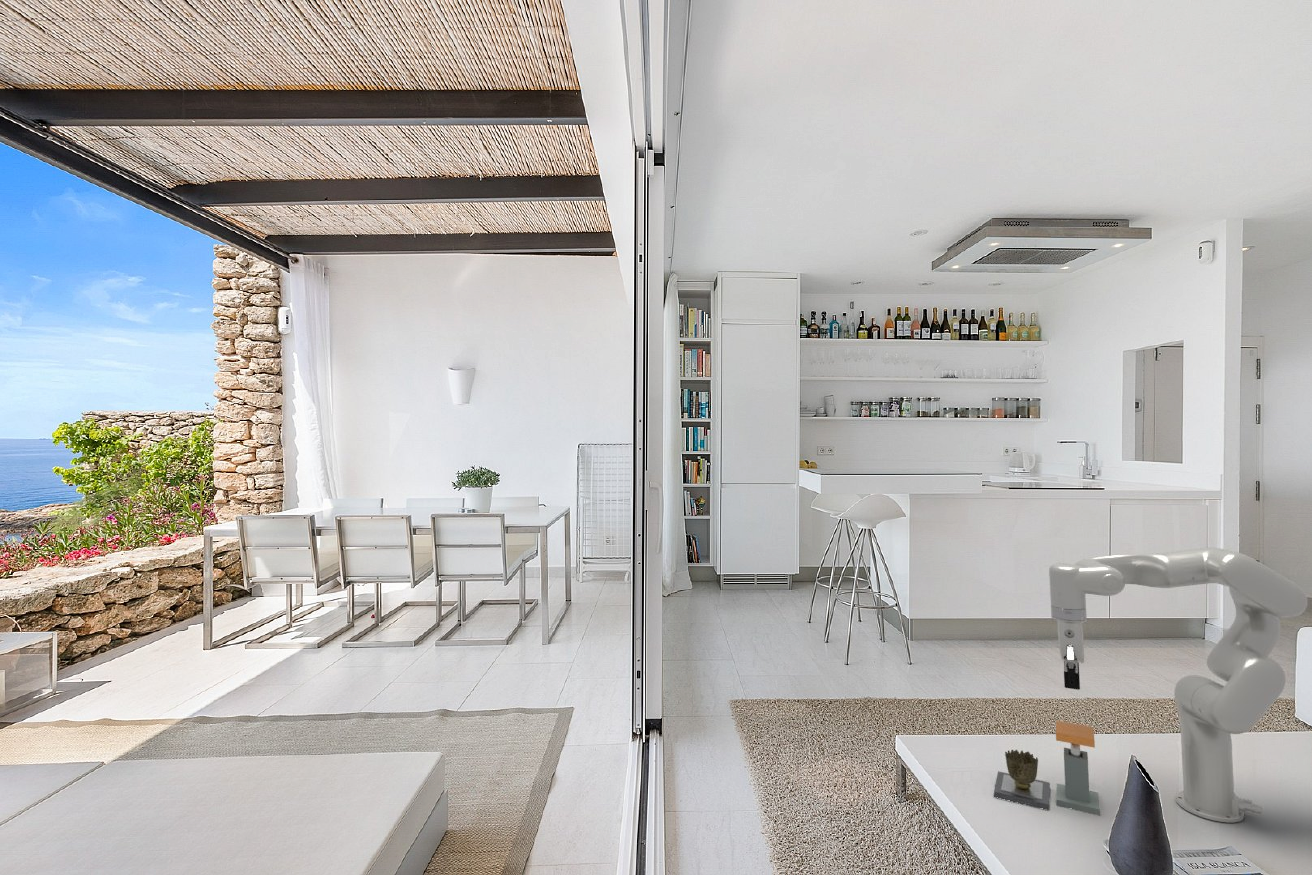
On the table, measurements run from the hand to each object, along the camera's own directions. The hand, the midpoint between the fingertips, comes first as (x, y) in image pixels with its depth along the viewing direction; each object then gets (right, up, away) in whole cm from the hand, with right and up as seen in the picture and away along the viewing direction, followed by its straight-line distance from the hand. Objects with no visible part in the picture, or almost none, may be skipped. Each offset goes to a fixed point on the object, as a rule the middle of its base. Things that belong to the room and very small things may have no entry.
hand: (1072, 682), depth 161 cm
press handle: (+1, -24, -1) cm, 24 cm away
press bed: (-10, -30, +4) cm, 32 cm away
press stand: (+1, -30, -1) cm, 30 cm away
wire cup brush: (-10, -29, +4) cm, 31 cm away
